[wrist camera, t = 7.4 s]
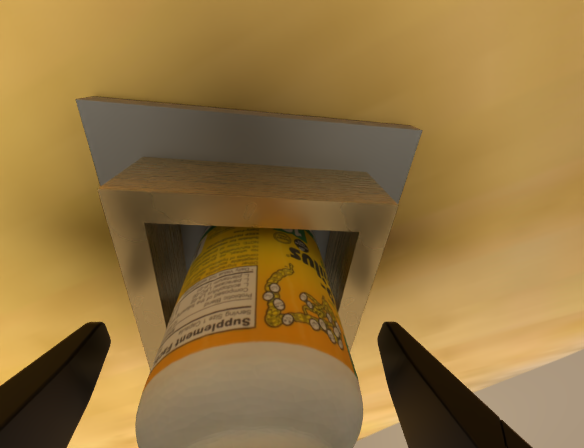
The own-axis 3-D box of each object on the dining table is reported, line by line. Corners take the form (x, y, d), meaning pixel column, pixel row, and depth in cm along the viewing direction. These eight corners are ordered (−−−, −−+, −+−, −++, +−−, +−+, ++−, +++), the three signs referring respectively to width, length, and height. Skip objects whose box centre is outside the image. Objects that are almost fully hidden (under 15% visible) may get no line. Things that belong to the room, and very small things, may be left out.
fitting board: (410, 125, 11) (422, 130, 10) (329, 391, 21) (331, 405, 20) (93, 96, 9) (75, 99, 9) (169, 396, 19) (164, 412, 19)
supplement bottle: (176, 228, 11) (-77, 670, 3) (292, 180, 11) (383, 582, 2) (236, 307, 14) (191, 656, 6) (332, 273, 13) (440, 613, 5)
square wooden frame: (366, 171, 11) (398, 205, 8) (330, 316, 15) (344, 369, 12) (143, 156, 10) (96, 188, 7) (172, 316, 14) (151, 373, 11)
